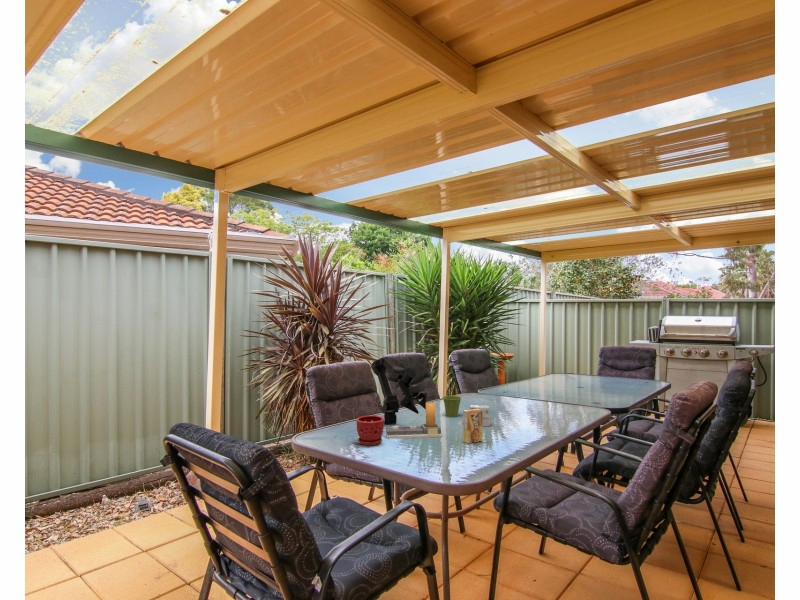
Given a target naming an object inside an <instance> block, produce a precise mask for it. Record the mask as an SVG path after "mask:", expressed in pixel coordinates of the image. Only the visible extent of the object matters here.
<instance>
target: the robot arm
mask: <svg viewBox="0 0 800 600" xmlns="http://www.w3.org/2000/svg"><path fill="white" fill-rule="evenodd" d="M370 367H371V369H372V372H373V374H375V375H376V376H377V379H378V381H379V384H380V389H381V390H382V394H383V396H384V397H383V398H384V399H383V402H382V403H383V405H382V406H381V408H380V410H381V413H382V414H383V419H384V425H397V422H398V421H397V417H398V416H397V414H396V413H399V409H400V406H401V408H405V409H407V410H409V411H411V412H413V413H415V414H417V415H419V413H420V412H419V410H418V408H417V407H416V405H415V402H414V401H417V403H418V405H420V406H421V407H422V408H424V410H426V402H428V401H427V400H428V396H429V394H428V393H427V392H426V391H425V388H426V385H424V383H420V384H417V385H416V386H415V385H414V386H413V385H411V384H412V382H413V381H414V379H415V378H416V376H417V373H416V371H415V370H413V369H412V368H411V367H406V369H405V368H403V367H401V366H398V365H396V363H394V362H393V360H391V359H390V358H389V357H388V356H385V357H380V358H378V359H376V360H374V361H372V363H371V366H370ZM387 370H388V371H389V373H391V375H390V376H391V377H392V378H393V380H395V381H397V382H396V385H395V388H399V389H400V390H401V392H402V396H404V397H403V398H402V399H401V400H400V401H399V399H398V396H397V395H396V394H395V395H394V394H393V391H392V389H391V386H390V382H389V380H388V376H387V374H386V372H387Z"/></svg>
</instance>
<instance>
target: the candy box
mask: <svg viewBox="0 0 800 600" xmlns="http://www.w3.org/2000/svg"><path fill="white" fill-rule="evenodd" d="M462 413H463V414H462V416H463V417H462V422H463V423H462V425H463V426H462V427H463V428H462V434H463V438H462V441H463V442H464V443H466V444H472V442H474V443H480V442H479V441H481V442H483V426H482V410H480V409H471V410H470V409H465V410H463V411H462Z"/></svg>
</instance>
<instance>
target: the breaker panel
mask: <svg viewBox="0 0 800 600" xmlns="http://www.w3.org/2000/svg"><path fill="white" fill-rule="evenodd" d="M441 429H442V428H441V426H440V425H439V424H438V423H436V427H428V428H426V423H421V424H420V426H419V425H418V426H417V425H410V426H395V425H394V426H388V427H385V431H384V433H386V434H385V436H387V437H386V439H387V438H396V439H419V438H420V439H422V438H423V439H424V438H426V439H427V438H428V439H429V438H442V437H443V434H442V430H441Z"/></svg>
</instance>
